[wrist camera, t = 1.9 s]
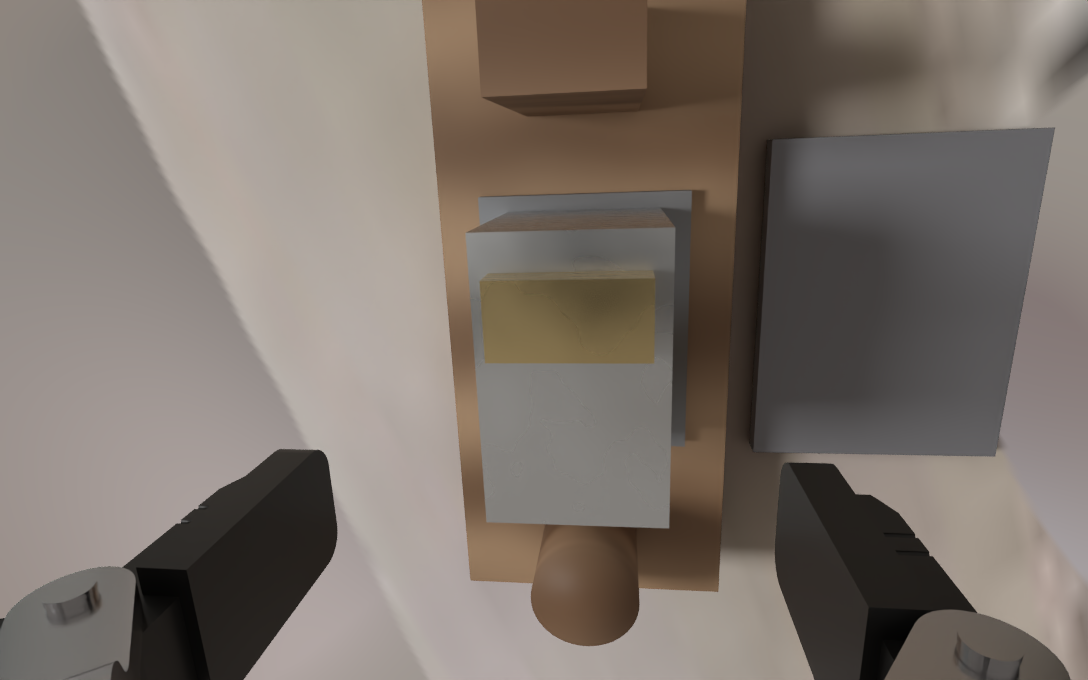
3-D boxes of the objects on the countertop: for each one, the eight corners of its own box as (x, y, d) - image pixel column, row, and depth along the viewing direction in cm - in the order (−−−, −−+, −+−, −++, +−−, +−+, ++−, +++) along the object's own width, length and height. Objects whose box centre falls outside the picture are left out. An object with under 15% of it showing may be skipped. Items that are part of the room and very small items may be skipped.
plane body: (446, 8, 22) (317, -100, 13) (730, -12, 21) (819, -149, 12) (485, 537, 29) (418, 728, 19) (708, 546, 27) (754, 754, 18)
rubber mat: (767, 139, 22) (772, 139, 22) (1039, 128, 21) (1055, 127, 21) (749, 443, 26) (753, 452, 25) (983, 447, 25) (995, 456, 24)
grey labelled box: (508, 211, 21) (454, 237, 14) (660, 207, 20) (679, 232, 13) (519, 431, 23) (478, 543, 16) (656, 433, 22) (671, 551, 16)
